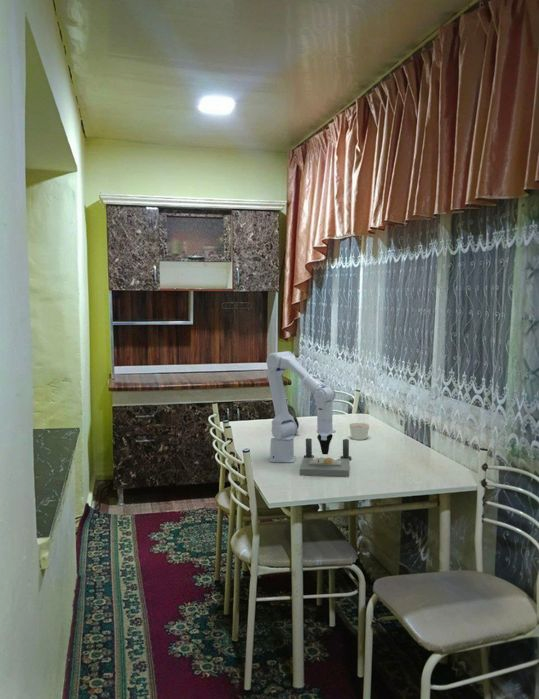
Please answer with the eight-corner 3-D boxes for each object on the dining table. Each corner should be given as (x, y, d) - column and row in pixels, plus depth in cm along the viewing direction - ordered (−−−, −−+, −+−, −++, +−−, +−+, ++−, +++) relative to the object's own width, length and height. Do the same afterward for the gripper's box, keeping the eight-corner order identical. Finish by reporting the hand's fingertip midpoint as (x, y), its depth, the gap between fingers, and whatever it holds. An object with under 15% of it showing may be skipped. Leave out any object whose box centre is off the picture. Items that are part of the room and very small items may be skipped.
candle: (367, 441, 261) (367, 427, 260) (347, 440, 264) (347, 426, 263) (370, 436, 269) (370, 423, 268) (351, 435, 272) (351, 422, 271)
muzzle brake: (279, 437, 271) (278, 415, 270) (276, 423, 299) (276, 403, 298) (299, 436, 272) (299, 415, 270) (294, 422, 299) (294, 403, 298)
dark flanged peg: (340, 460, 233) (340, 441, 232) (340, 457, 237) (340, 438, 236) (351, 461, 232) (351, 441, 231) (351, 457, 237) (351, 438, 236)
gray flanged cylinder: (303, 459, 235) (302, 440, 234) (304, 456, 239) (303, 437, 239) (313, 460, 234) (313, 440, 234) (314, 456, 239) (314, 437, 238)
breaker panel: (300, 475, 216) (299, 463, 215) (303, 464, 229) (303, 452, 229) (348, 476, 213) (348, 464, 212) (349, 465, 227) (349, 453, 226)
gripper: (334, 423, 211) (335, 459, 213) (336, 414, 225) (336, 448, 227) (315, 423, 212) (315, 459, 214) (318, 414, 227) (318, 448, 228)
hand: (325, 453), depth 220 cm, fingers closed
